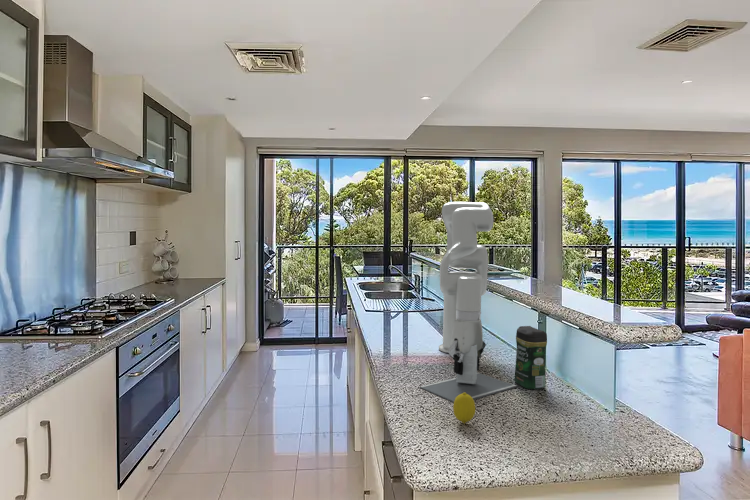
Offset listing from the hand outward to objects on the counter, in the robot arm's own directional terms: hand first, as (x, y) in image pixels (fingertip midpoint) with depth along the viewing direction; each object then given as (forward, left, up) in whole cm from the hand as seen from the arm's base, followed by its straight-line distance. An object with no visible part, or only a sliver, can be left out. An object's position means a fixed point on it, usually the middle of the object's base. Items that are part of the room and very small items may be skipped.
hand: (466, 371), depth 151 cm
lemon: (+22, +20, -5) cm, 30 cm away
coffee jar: (-17, +11, -5) cm, 21 cm away
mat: (+1, +2, -4) cm, 5 cm away
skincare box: (0, 0, -3) cm, 3 cm away
